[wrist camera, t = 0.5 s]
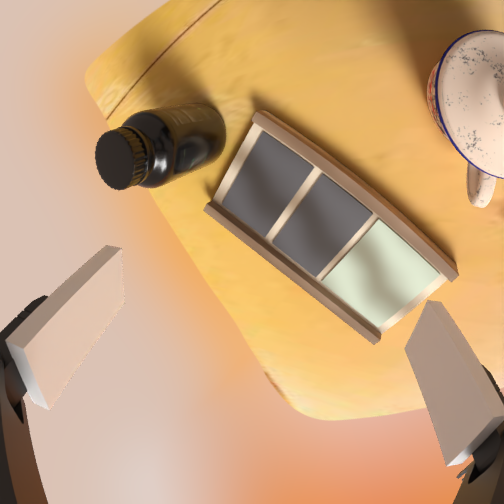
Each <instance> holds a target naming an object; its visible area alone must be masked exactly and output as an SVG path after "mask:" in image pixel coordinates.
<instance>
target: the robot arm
mask: <svg viewBox="0 0 504 504" xmlns="http://www.w3.org/2000/svg"><path fill="white" fill-rule="evenodd" d="M124 303H125V299H124V286H123V266H122V248H118V247H113V246H108V245H106V246H105V247H104V248H102V249H101V250H100V251H99V252H98V253H97V254H95V255H94V256H93V257H92V258H91V259H90V260H88V261H87V262H86V263H85V264H84V265H83V266H82V267H81V268H79V269H78V270H77V271H76V272H75V273H74V274H73V275H72V276H70V277H69V278H68V279H67V280H66V281H65V282H64V283H63V284H62V285H61V286H60V287H58V288H57V289H56V290H55V291H54V292H53V293H52V294H51V295H50V296H49V297H48V296H45V295H44V296H42V297H40V298H38V299H36V300H34V301H32V302H31V303H30V304H29V305H28V306H27V307H26V308H25V309H24V311H22V312H21V313H20V314H19V315H18V317H15V318H14V319H13V321H11V323H9V324H8V325H7V326H6V327H5V328H4V330H2V331H1V332H0V504H48V502H47V498H46V495H45V492H44V489H43V485H42V482H41V479H40V475H39V471H38V467H37V463H36V459H35V455H34V451H33V446H32V442H31V437H30V431H29V426H28V420H27V415H26V407H25V403H24V400H23V398H22V397H23V396H24V395H25V393H26V392H28V394H29V396H30V398H31V400H32V402H33V403H36V404H37V405H39V406H41V407H43V408H46V409H48V410H51V409H52V407H53V405H54V404H55V402H56V401H57V399H58V397H59V396H60V395H61V393H62V392H63V390H64V388H65V387H66V385H67V384H68V382H69V381H70V379H71V378H72V376H73V375H74V373H75V372H76V371H77V369H78V367H79V366H80V365H81V363H82V362H83V360H84V359H85V357H86V356H87V355H88V353H89V352H90V350H91V349H92V347H93V346H94V345H95V343H96V341H97V340H98V339H99V338H100V336H101V335H102V333H103V332H104V330H105V329H106V328H107V327H108V325H109V324H110V322H111V321H112V320H113V318H114V317H115V316H116V314H117V313H118V311H119V310H120V309H121V308H122V306H123V305H124ZM404 349H405V351H406V354H407V356H408V359H409V361H410V364H411V366H412V369H413V371H414V374H415V376H416V379H417V381H418V384H419V387H420V389H421V392H422V395H423V397H424V400H425V403H426V406H427V408H428V411H429V414H430V417H431V420H432V423H433V425H434V429H435V432H436V435H437V438H438V441H439V444H440V447H441V451H442V454H443V457H444V460H445V464H446V466H451V465H456V464H462V463H463V462H464V461H465V460H466V459H467V458H468V457H469V456H470V455H471V454H472V455H473V458H474V461H473V462H471V463H470V464H469V465H468V466H467V467H466V468H465V469H464V470H463V471H461V472H460V473H459V475H458V476H457V478H460V477H461V476H462V475H463V474H464V473H466V474H465V477H464V478H463V479H462V481H463V482H462V484H461V487H460V489H459V491H458V493H457V496H456V498H455V500H454V502H453V504H504V396H503V395H502V393H501V392H500V389H499V387H498V385H497V384H496V382H495V380H494V378H493V376H492V375H491V373H490V372H489V371H488V370H487V369H486V368H485V367H484V366H483V365H481V363H480V362H479V360H478V358H477V357H476V355H475V353H474V352H473V350H472V348H471V347H470V345H469V344H468V342H467V340H466V339H465V337H464V336H463V334H462V333H461V331H460V329H459V328H458V326H457V325H456V323H455V322H454V320H453V319H452V317H451V316H450V314H449V313H448V311H447V310H446V308H445V307H444V306H443V304H442V303H441V302H438V301H431V300H427V303H426V305H425V307H424V309H423V311H422V314H421V316H420V318H419V320H418V322H417V324H416V326H415V329H414V331H413V333H412V335H411V337H410V339H409V341H408V343H407V345H406V347H405V348H404Z"/></svg>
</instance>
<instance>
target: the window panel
mask: <svg viewBox="0 0 504 504" xmlns="http://www.w3.org/2000/svg"><path fill="white" fill-rule="evenodd" d="M251 121H253V122H254V124H253V125H252V127H251V129H250V131H249V133H248V134H247V136H246V138H245V140H244V142H243V143H242V145H241V147H240V149H239V151H238V152H237V154H236V156H235V158H234V160H233V162H232V163H231V165H230V167H229V169H228V171H227V173H226V175H225V177H224V178H223V180H222V182H221V184H220V186H219V188H218V190H217V192H216V194H215V196H214V197H213V199H212V201H210V202H209V203H207V204H206V206H205V208H204V210H203V211H204V212H206V213H207V214H208V215H210V216H211V217H212V218H213V219H215V220H216V221H217V222H218V223H220V224H221V225H222V226H224V227H225V228H226V229H227V230H229V231H230V232H231V233H232V234H234V235H235V236H236V237H238V238H239V239H240V240H241V241H243V242H244V243H245V244H246V245H248V246H249V247H250V248H252V249H253V250H254V251H255V252H257V253H258V254H259V255H260V256H262V257H263V258H264V259H266V260H267V261H268V262H269V263H271V264H272V265H273V266H274V267H276V268H277V269H278V270H280V271H281V272H282V273H283V274H285V275H286V276H287V277H288V278H290V279H291V280H292V281H293V282H295V283H296V284H297V285H299V286H300V287H301V288H302V289H304V290H305V291H306V292H307V293H309V294H310V295H311V296H313V297H314V298H315V299H316V300H318V301H319V302H320V303H321V304H323V305H324V306H325V307H326V308H328V309H329V310H330V311H332V312H333V313H334V314H335V315H337V316H338V317H339V318H340V319H342V320H343V321H344V322H345V323H347V324H348V325H349V326H351V327H352V328H353V329H354V330H356V331H357V332H358V333H359V334H361V335H362V336H363V337H364V338H366V339H367V340H368V341H369V342H371V343H372V344H373V345H375V344H376V343H377V342H379V341H380V339H381V334H382V333H384V332H385V331H386V330H388V329H389V328H390V327H391V326H393V325H394V324H395V323H397V322H398V321H399V320H400V319H402V318H403V317H404V316H405V315H407V314H408V313H409V312H410V311H411V310H413V309H414V308H415V307H416V306H417V305H419V304H420V303H421V302H422V301H423V300H425V299H426V298H427V297H428V296H429V295H430V294H432V293H433V292H434V291H435V290H436V289H437V288H438V287H440V286H441V285H442V284H443V283H444V282H445V281H446V280H447V279H448V280H449V281H450V282H452V281H453V280H454V279H456V278H457V277H458V276H459V274H458V269H457V265H456V264H455V263H454V262H453V261H452V260H451V259H450V258H449V257H448V256H447V255H446V254H445V253H444V252H443V251H442V250H441V249H440V248H439V247H438V246H437V245H436V244H435V243H434V242H433V241H432V240H431V239H430V238H429V237H428V236H427V235H425V234H424V233H423V232H422V231H421V230H420V229H419V228H418V227H417V226H416V225H415V224H414V223H412V222H411V221H410V220H409V219H408V218H407V217H406V216H405V215H404V214H402V213H401V212H400V211H399V210H398V209H397V208H396V207H394V206H393V205H392V204H391V203H390V202H389V201H387V200H386V199H385V198H384V197H383V196H382V195H380V194H379V193H378V192H377V191H376V190H374V189H373V188H372V187H371V186H369V185H368V184H367V183H366V182H365V181H363V180H362V179H361V178H360V177H358V176H357V175H356V174H354V173H353V172H352V171H351V170H349V169H348V168H347V167H346V166H344V165H343V164H342V163H340V162H339V161H338V160H336V159H335V158H334V157H332V156H331V155H330V154H328V153H327V152H326V151H324V150H323V149H322V148H320V147H319V146H317V145H316V144H315V143H313V142H312V141H310V140H309V139H308V138H306V137H305V136H303V135H302V134H301V133H299V132H298V131H296V130H295V129H293V128H292V127H290V126H289V125H287V124H286V123H284V122H283V121H281V120H280V119H278V118H277V117H275V116H274V115H272V114H271V113H269V112H268V111H266V110H262V111H256V113H255V115H254V116H253V118H252V120H251Z"/></svg>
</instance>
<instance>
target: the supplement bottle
mask: <svg viewBox="0 0 504 504" xmlns="http://www.w3.org/2000/svg"><path fill="white" fill-rule="evenodd" d="M225 143H226V129H225V125H224V123H223V120H222V119H221V117H220V116H219V114H218V113H217V112H216V111H215V110H214V109H213V108H211V107H209V106H207V105H205V104H201V103H191V104H183V105H175V106H169V107H162V108H156V109H150V110H145V111H140V112H137V113H135V114H133V115H131V116H130V117H129V118H128V119H127V120H126V121H125V122H124V123H123V124H122V126H121V127H119V128H117V129H114V130H110V131H108V132H105V133H104V134H103V135H102V136H101V138H99V141H98V142H97V146H96V151H95V159H96V165H97V169H98V171H99V174H100V175H101V178H102V179H103V180H104V182H105V183H106V184H107V185H108V186H110V187H111V188H114V189H115V190H116V189H117V190H124V189H126V188H129V187H131V186H135V185H139V186H141V187H145V188H157V187H160V186H163V185H165V184H167V183H169V182H172V181H174V180H176V179H178V178H180V177H183V176H185V175H187V174H189V173H192V172H194V171H196V170H199V169H201V168H203V167H205V166H207V165H210V164H211V163H213V162H214V161H216V160H217V159H218V158H219V157H220V155H221V154H222V152H223V150H224V147H225Z"/></svg>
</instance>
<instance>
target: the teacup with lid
mask: <svg viewBox="0 0 504 504" xmlns="http://www.w3.org/2000/svg"><path fill="white" fill-rule="evenodd" d="M427 101H428V106H429V110H430V113H431V116H432V118H433V120H434V122H435V124H436V125H437V127H438V129H439V130H440V131H441V132H442V134H443V135H444V136H445V137H446V138H447V139H448V140H449V141H451V143H452V144H453V145H454V147H455V148H456V150H457V151H458V152H459V153H460V154H461V155H462V156H463V157H464V158H465V159H466V160H467V161H468V166H467V193H468V197H469V200H470V202H471V204H472V205H474V206H477V207H482V208H483V207H485V206H487V204H488V203H489V202H490V200H491V198H492V195H493V192H494V188H495V184H496V179H497V178H502V179H504V33H502V32H499V31H493V30H478V31H473V32H470V33H467V34H465V35H463V36H461V37H460V38H458V39H457V40H455V41H454V42H453V43H452V44H451V45H450V46H449V47H448V48H447V50H446V51H445V53H444V54H443V56H442V58H441V60H440V61H439V62H438V63H437V64H436V65H435V67H434V68H433V70H432V72H431V74H430V76H429V80H428V85H427Z"/></svg>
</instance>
